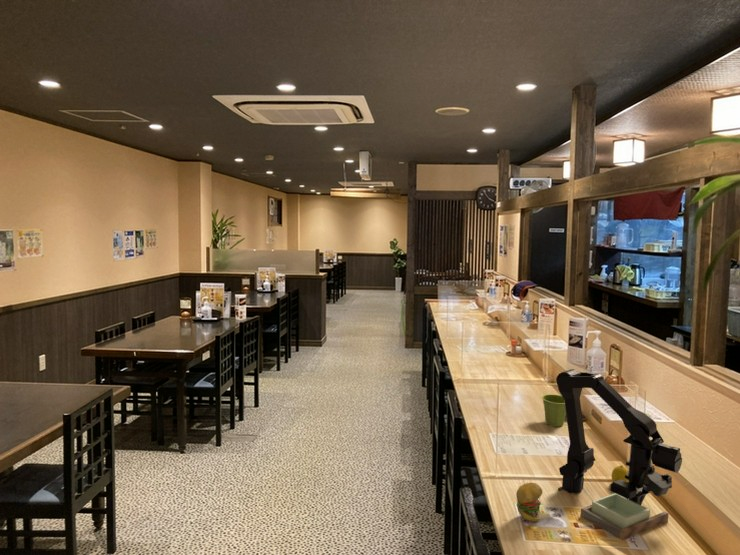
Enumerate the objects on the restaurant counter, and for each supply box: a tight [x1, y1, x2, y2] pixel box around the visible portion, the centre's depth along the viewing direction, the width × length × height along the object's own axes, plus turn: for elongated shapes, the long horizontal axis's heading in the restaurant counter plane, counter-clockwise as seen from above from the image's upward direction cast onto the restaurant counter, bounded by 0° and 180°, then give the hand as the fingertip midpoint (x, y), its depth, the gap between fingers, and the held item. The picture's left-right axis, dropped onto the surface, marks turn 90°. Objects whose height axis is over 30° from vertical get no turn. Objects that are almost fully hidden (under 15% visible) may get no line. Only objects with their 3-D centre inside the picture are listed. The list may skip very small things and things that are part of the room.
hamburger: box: [515, 479, 544, 523], centre depth 163 cm, size 8×7×12 cm
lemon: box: [611, 465, 629, 483], centre depth 184 cm, size 6×6×8 cm
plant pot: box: [541, 393, 566, 428], centre depth 241 cm, size 12×12×11 cm
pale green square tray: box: [591, 492, 651, 529], centre depth 162 cm, size 11×11×4 cm
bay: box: [580, 504, 670, 541], centre depth 163 cm, size 21×14×4 cm, turn 121°
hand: (635, 510), depth 166 cm, fingers closed
